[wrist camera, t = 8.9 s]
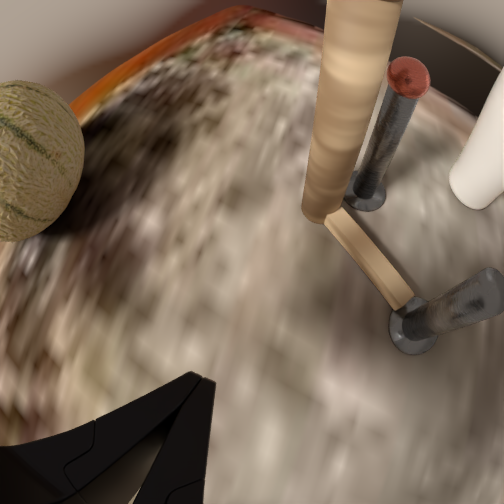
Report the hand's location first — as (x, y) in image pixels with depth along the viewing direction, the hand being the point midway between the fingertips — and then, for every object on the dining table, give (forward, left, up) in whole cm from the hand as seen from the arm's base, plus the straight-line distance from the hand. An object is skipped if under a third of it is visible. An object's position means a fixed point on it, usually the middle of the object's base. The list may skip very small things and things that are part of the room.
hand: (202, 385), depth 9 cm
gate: (+12, +5, -13) cm, 18 cm away
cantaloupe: (-12, +23, -13) cm, 29 cm away
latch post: (+15, +9, -13) cm, 22 cm away
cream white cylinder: (+27, +6, -13) cm, 30 cm away
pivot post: (+13, -2, -13) cm, 19 cm away
